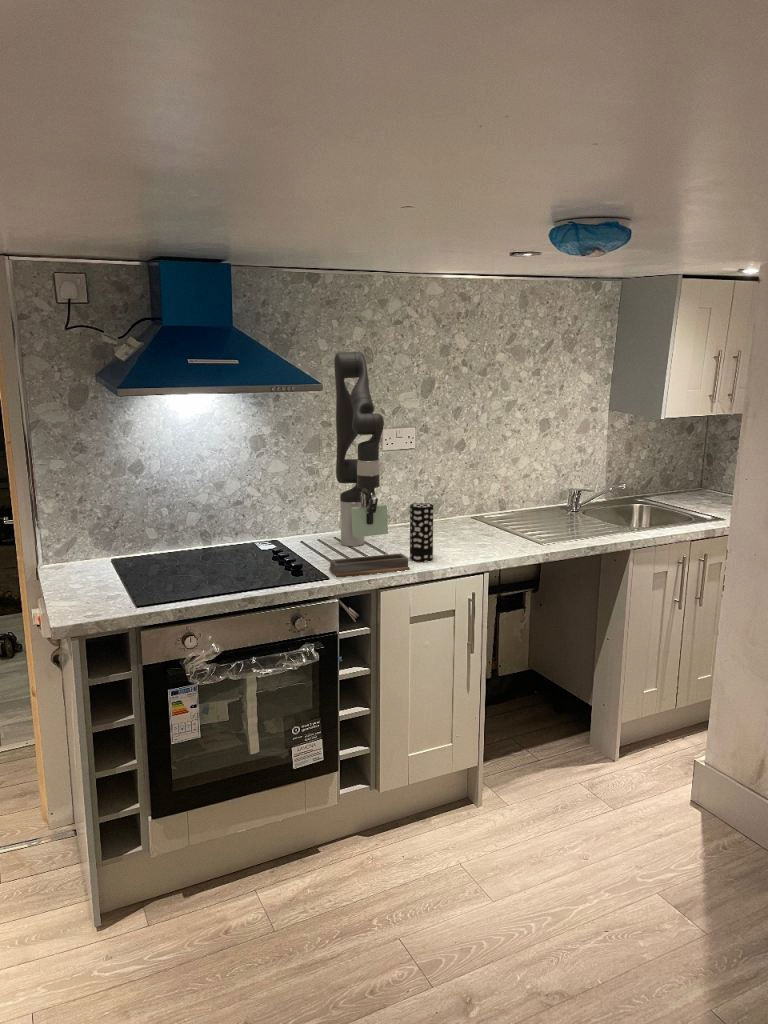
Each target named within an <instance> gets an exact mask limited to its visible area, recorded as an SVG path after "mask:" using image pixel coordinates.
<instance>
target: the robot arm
mask: <svg viewBox="0 0 768 1024" xmlns="http://www.w3.org/2000/svg"><path fill="white" fill-rule="evenodd" d="M333 362H334V367H333V368H334V378H335V379H334V380H335V382H334V383H335V392H336V393H335V394H336V397H335V398H336V402H335V423H336V424H335V429H336V430H335V431H336V461H335V462H336V463H335V476H336V480H337V482H338V483H339V484H355V485H354V486H353V487H352V488H350V489H348V490H345V491H342V492H341V493H340V496H339V500H340V501H339V503H340V504H339V505H340V507H339V508H340V545H342V546H346V547H359V545H360V546H363V545H365V537H357V538H354V537H353V535H352V515H351V507H361V506H365V507H366V513H367V524H368V525H370V524H373V513H376V508H377V505H378V501H379V499H378V497H377V495H376V492H375V491H376V490H375V489H377V488H379V487H380V482H381V481H380V461H379V460H380V459H379V457H380V455H379V453H380V452H379V450H380V449H379V448H380V441H381V437H382V434H383V430H384V427H385V426H384V425H385V420H384V417H383V416H382V414H380V413H377V412H375V413H374V410H375V407H374V403H373V399H372V395H371V391H370V385H369V384H370V382H369V374H368V368H367V367H368V365H367V360H366V357H365V355H364V353H363V352H361V351H343V352H336V353H335V356H334V361H333ZM357 378H358V379H357ZM346 379H357V382H356V383H355V385H354V386H353V388H352V390H351V393H350V392H349V390H348V388H347V385H346V382H345V380H346ZM358 435H359V436H364V435H365V436H368V435H369V436H371V437H370V438H369V439H367V440H365V441H361V442H359V443H358V445H357V458H347V459H346V454H347V453H348V450H349V448H350V446H351V445H352V444H353V442H354V441H355V439H357V436H358ZM371 508H372V509H371ZM362 544H363V545H362Z"/></svg>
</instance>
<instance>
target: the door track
mask: <svg viewBox="0 0 768 1024" xmlns="http://www.w3.org/2000/svg"><path fill="white" fill-rule="evenodd" d="M328 570H329V572H330V573H331V574H332V575H333V574H334V575H335V576H336V577H342V578H347V577H346V576H352V577H360V576H359V575H362V576H371V575H370V574H372V575H378V574H377V573H382V574H388V573H387V572H392V573H398V572H397V571H401V572H406V571H405V570H411V569H410V566H409V558H408V557H407V556H406V555H404V554H403V553H400V552H398V553H390V554H380V555H370V556H369V555H368V556H367V555H366V556H359V557H348V558H347V557H346V558H337V559H330V560H329V568H328ZM334 575H333V576H334ZM335 576H334V577H335Z"/></svg>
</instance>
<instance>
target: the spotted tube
mask: <svg viewBox="0 0 768 1024" xmlns="http://www.w3.org/2000/svg"><path fill="white" fill-rule="evenodd" d="M433 559H434V504H432V503H426V502H416V503H412V504H409V560H410V561H411V562H413V561H414V562H413V563H421V562H423V563H429V562H428V561H430V562H433Z"/></svg>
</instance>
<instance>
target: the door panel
mask: <svg viewBox="0 0 768 1024" xmlns="http://www.w3.org/2000/svg"><path fill="white" fill-rule="evenodd" d="M371 509H372V508H371ZM351 515H352V535H353V537H354V538H357V537H364V538H365V537H372V536H373V537H374V536H379V535H380V536H382V535H388V534H389V525H388V524H389V523H388V504H386V503H381V504H377V508H376V513H373V524H370V525H368V524H367V513H366V507H365V506H361V507H351Z"/></svg>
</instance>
